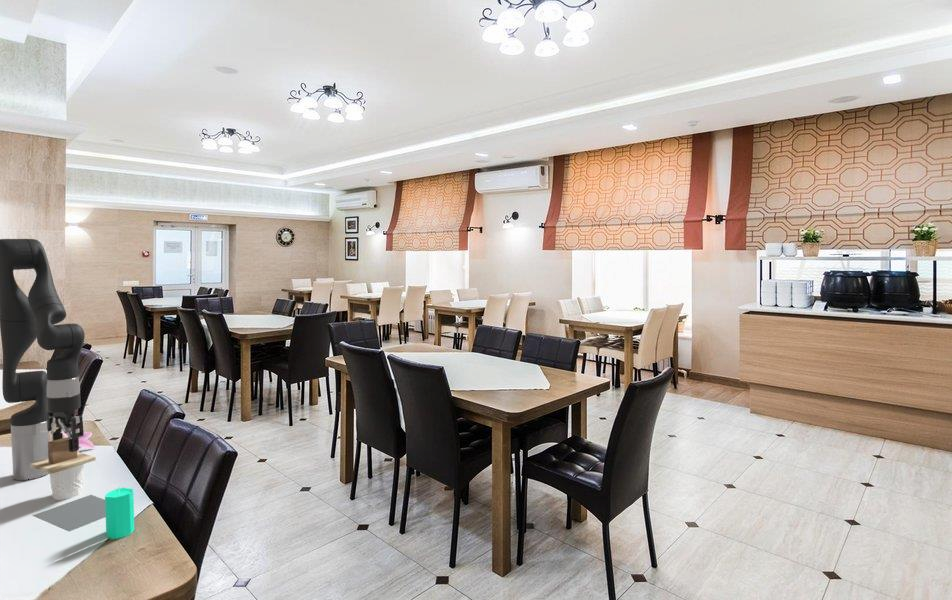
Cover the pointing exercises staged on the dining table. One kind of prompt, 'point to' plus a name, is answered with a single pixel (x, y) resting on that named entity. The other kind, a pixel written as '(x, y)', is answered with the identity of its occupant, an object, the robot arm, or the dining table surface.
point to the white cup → (67, 483)
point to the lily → (84, 440)
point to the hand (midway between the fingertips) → (65, 448)
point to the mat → (75, 513)
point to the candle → (119, 513)
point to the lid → (61, 457)
